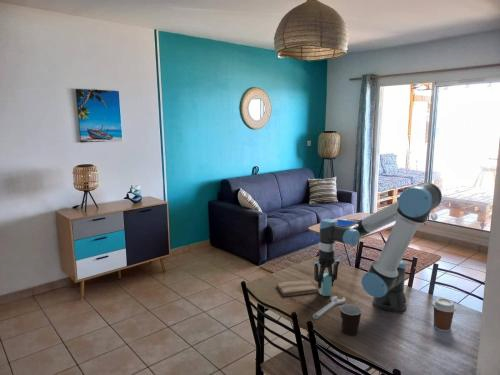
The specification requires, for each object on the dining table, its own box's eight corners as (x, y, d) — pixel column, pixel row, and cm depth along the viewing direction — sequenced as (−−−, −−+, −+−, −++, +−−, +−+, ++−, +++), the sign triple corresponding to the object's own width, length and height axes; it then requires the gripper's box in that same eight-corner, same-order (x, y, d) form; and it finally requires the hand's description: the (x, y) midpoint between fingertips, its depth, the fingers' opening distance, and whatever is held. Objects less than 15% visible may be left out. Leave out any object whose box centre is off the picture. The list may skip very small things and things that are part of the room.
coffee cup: (441, 319, 163) (443, 294, 161) (459, 330, 155) (461, 304, 152) (425, 323, 160) (427, 298, 158) (442, 335, 152) (445, 308, 149)
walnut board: (317, 292, 189) (317, 288, 189) (284, 296, 185) (284, 292, 185) (308, 282, 201) (308, 279, 200) (276, 286, 197) (277, 282, 196)
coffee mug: (357, 339, 149) (358, 317, 147) (336, 333, 153) (337, 311, 152) (364, 326, 159) (365, 304, 157) (345, 320, 163) (346, 299, 161)
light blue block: (331, 295, 185) (331, 276, 183) (323, 296, 184) (324, 277, 182) (321, 285, 195) (322, 268, 193) (315, 286, 194) (315, 269, 192)
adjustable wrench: (316, 321, 164) (316, 317, 163) (305, 315, 168) (305, 312, 168) (347, 301, 180) (347, 298, 180) (336, 297, 185) (336, 294, 185)
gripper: (338, 245, 188) (337, 287, 192) (307, 248, 184) (306, 291, 188) (346, 250, 181) (343, 294, 185) (313, 253, 177) (312, 298, 181)
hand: (325, 292), depth 187 cm, fingers closed on light blue block, 4 cm apart
